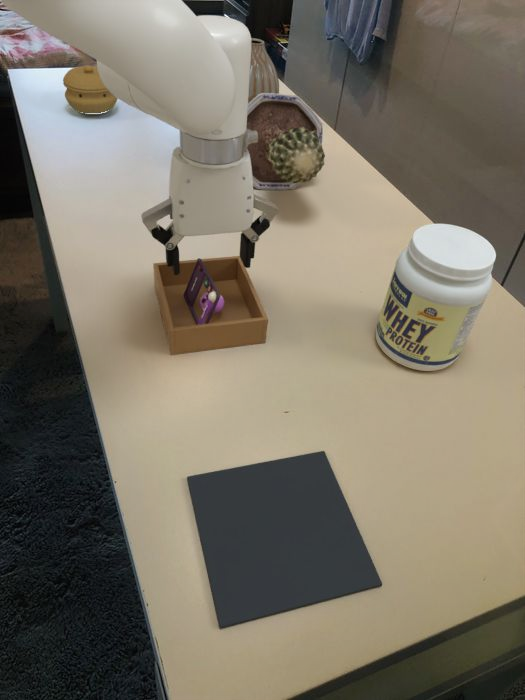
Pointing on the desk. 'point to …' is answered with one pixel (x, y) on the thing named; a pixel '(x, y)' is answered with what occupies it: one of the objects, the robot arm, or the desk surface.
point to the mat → (278, 538)
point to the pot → (87, 91)
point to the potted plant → (284, 141)
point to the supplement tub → (435, 296)
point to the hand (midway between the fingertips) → (210, 265)
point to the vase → (261, 71)
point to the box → (224, 327)
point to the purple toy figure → (209, 300)
